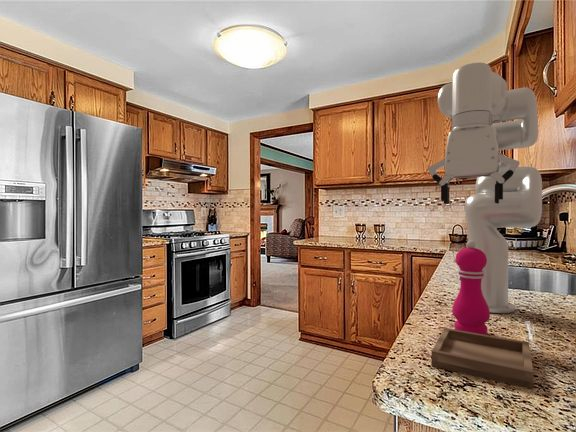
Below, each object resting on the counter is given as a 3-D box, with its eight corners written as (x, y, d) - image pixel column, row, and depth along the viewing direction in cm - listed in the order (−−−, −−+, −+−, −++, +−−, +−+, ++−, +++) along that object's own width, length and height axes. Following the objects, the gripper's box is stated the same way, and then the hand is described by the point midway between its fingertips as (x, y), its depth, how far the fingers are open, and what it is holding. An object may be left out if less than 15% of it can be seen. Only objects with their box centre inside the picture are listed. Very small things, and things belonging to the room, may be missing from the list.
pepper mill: (491, 331, 75) (491, 240, 74) (488, 341, 69) (489, 242, 68) (454, 324, 79) (455, 238, 79) (449, 334, 73) (449, 240, 73)
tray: (444, 340, 69) (444, 327, 69) (528, 355, 61) (528, 342, 61) (431, 365, 57) (431, 351, 57) (533, 389, 50) (533, 372, 50)
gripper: (519, 122, 72) (518, 203, 72) (431, 133, 81) (431, 204, 81) (520, 113, 65) (519, 202, 65) (425, 126, 75) (424, 203, 75)
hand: (470, 203), depth 73 cm, fingers open, 9 cm apart
